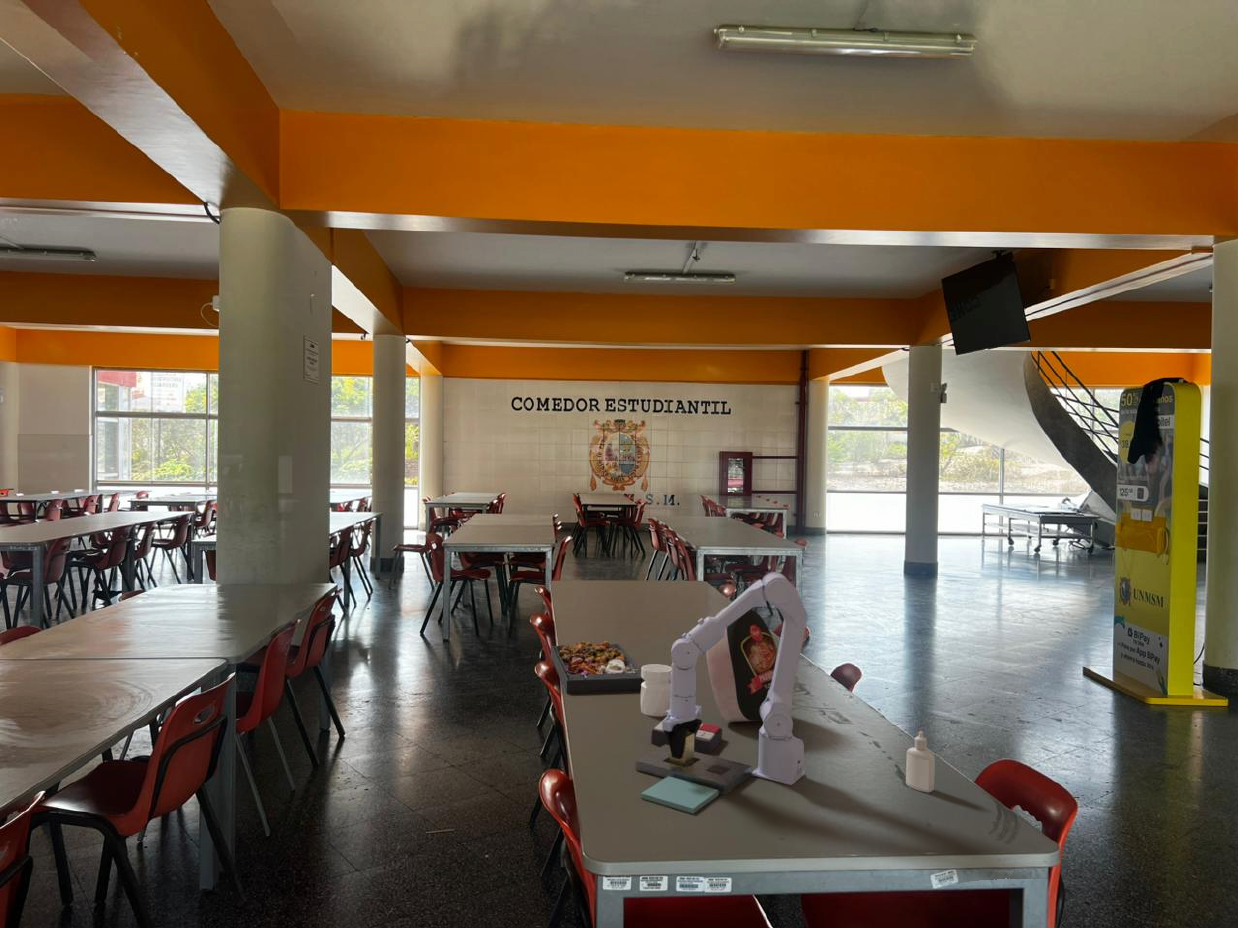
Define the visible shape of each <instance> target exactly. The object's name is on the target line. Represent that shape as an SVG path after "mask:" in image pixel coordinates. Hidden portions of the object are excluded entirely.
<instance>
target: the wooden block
mask: <svg viewBox="0 0 1238 928" xmlns="http://www.w3.org/2000/svg"><path fill="white" fill-rule="evenodd" d="M694 752H695V751H694V733H693V732H689V731H688V732H687V734H686V737H685V740H684V746H683V754H682V757H681V759H677V758H673V757H672V755H671V750H670V754H669V763H671V764H675V765H678V766H682V767H686V768H688V767H689V766H691V765H693V764H694Z"/></svg>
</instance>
